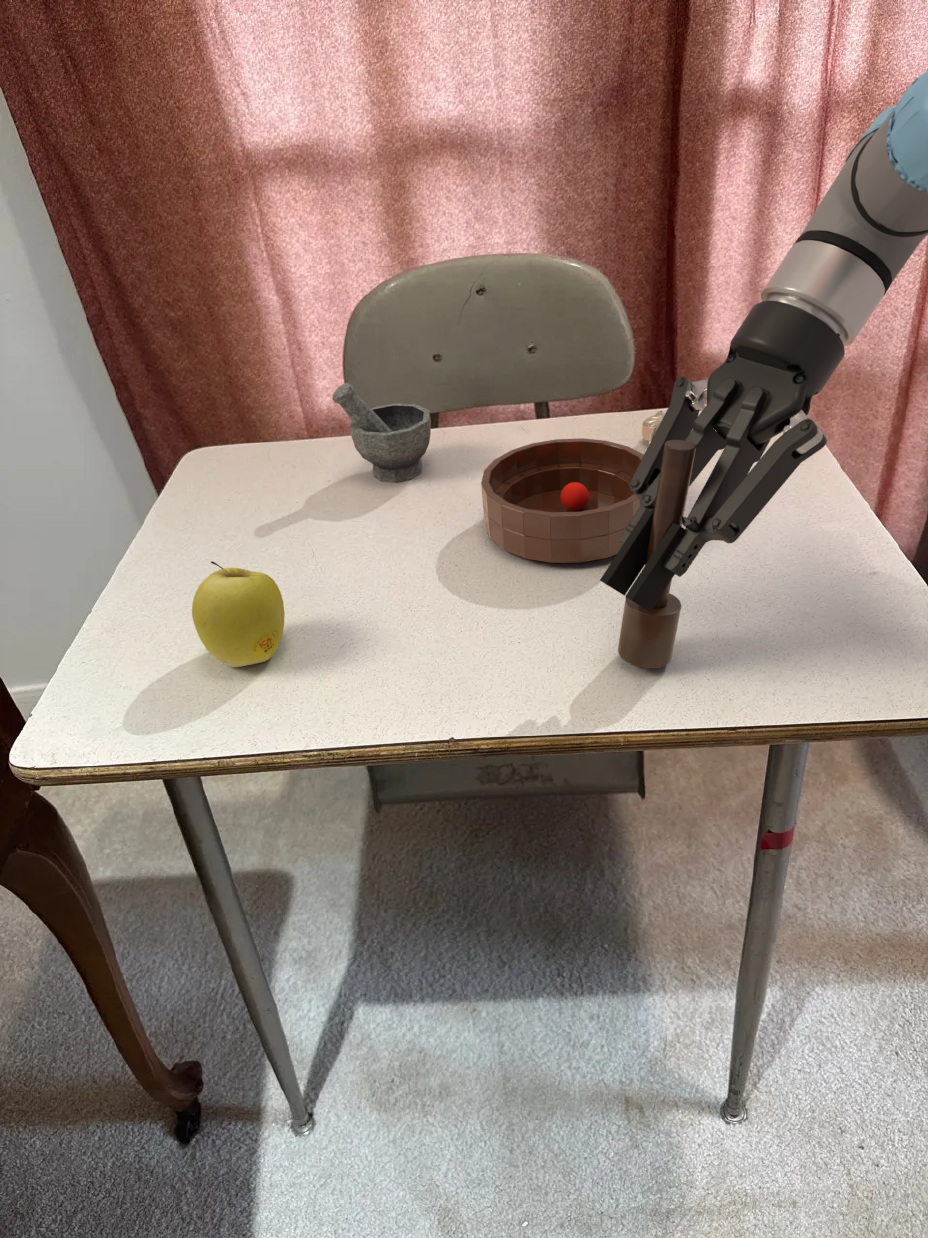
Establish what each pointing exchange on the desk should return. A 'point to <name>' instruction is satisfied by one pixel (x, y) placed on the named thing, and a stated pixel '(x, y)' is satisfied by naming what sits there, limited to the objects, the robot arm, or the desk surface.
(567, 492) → the red ball
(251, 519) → the desk surface
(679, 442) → the brown pestle
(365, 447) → the mortar and pestle
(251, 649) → the apple
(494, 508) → the bowl
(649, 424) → the ornament
